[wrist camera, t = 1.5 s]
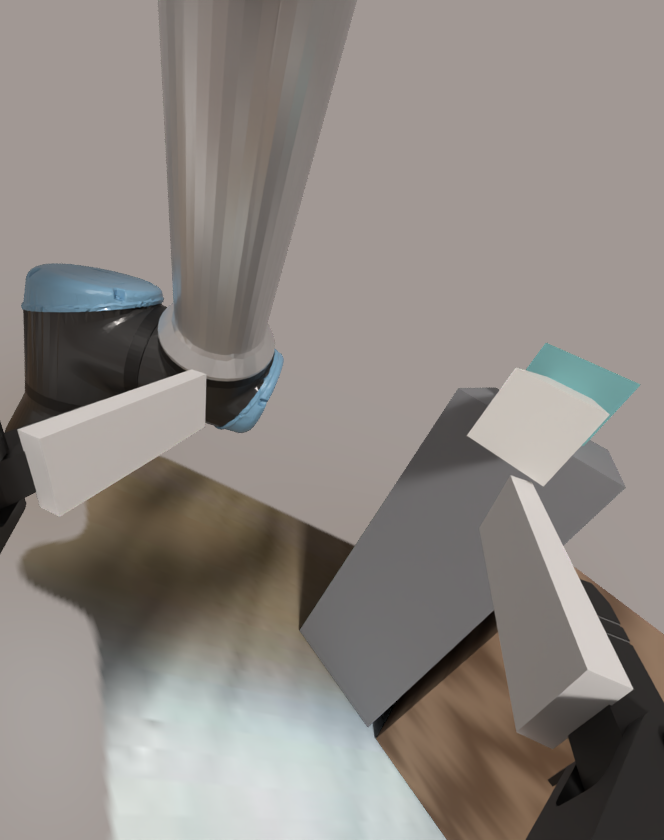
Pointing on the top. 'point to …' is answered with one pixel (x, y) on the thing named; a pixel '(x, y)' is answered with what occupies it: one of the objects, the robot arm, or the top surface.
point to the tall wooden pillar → (486, 736)
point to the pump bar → (549, 411)
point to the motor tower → (435, 557)
